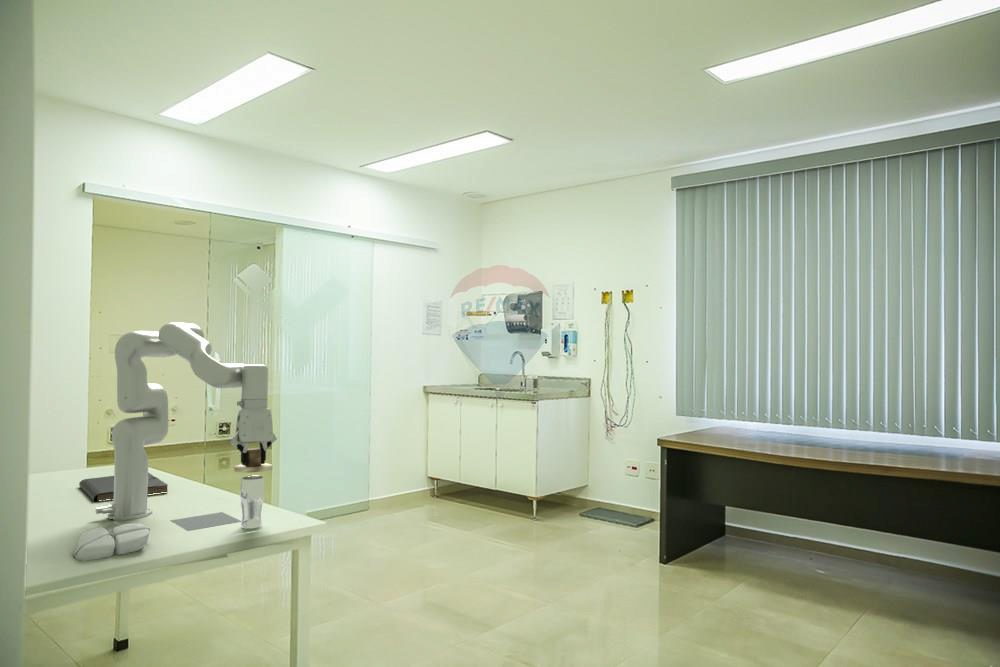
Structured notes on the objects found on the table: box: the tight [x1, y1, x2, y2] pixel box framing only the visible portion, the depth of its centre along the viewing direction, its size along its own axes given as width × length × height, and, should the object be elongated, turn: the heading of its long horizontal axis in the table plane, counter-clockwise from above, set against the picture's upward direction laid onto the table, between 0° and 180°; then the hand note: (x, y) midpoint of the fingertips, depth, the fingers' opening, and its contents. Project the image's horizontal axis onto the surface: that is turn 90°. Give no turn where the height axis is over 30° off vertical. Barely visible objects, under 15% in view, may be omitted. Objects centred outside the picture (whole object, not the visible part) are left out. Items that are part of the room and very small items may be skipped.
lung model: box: [72, 522, 151, 561], centre depth 175 cm, size 7×17×25 cm
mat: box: [170, 511, 242, 532], centre depth 199 cm, size 16×16×1 cm
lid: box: [233, 448, 273, 474], centre depth 195 cm, size 11×11×6 cm
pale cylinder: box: [239, 475, 265, 529], centre depth 195 cm, size 7×7×15 cm
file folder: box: [78, 472, 169, 501], centre depth 244 cm, size 33×4×24 cm
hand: (253, 463), depth 195 cm, fingers closed on lid, 4 cm apart
